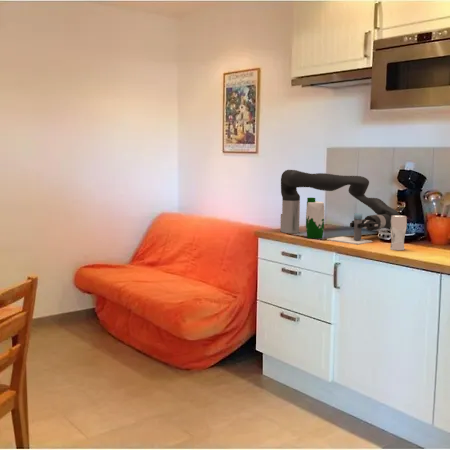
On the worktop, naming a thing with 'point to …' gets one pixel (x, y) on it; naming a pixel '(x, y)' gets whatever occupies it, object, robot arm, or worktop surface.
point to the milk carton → (314, 218)
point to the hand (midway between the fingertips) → (354, 225)
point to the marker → (356, 230)
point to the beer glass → (398, 231)
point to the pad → (349, 240)
